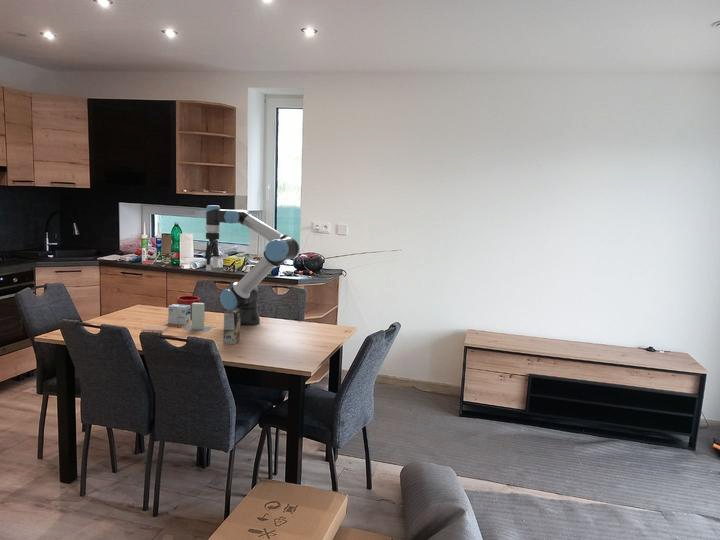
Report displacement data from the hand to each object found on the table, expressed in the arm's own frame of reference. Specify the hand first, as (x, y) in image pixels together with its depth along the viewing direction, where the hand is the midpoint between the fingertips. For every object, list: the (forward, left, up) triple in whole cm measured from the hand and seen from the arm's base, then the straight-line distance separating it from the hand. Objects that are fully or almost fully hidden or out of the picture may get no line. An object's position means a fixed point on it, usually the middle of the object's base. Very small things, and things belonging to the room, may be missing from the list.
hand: (211, 269), depth 317 cm
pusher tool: (+2, +18, -31) cm, 36 cm away
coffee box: (-22, +40, -32) cm, 56 cm away
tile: (+17, +27, -31) cm, 44 cm away
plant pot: (+17, -12, -32) cm, 38 cm away
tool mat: (+2, +18, -32) cm, 36 cm away
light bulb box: (+16, +7, -32) cm, 36 cm away
